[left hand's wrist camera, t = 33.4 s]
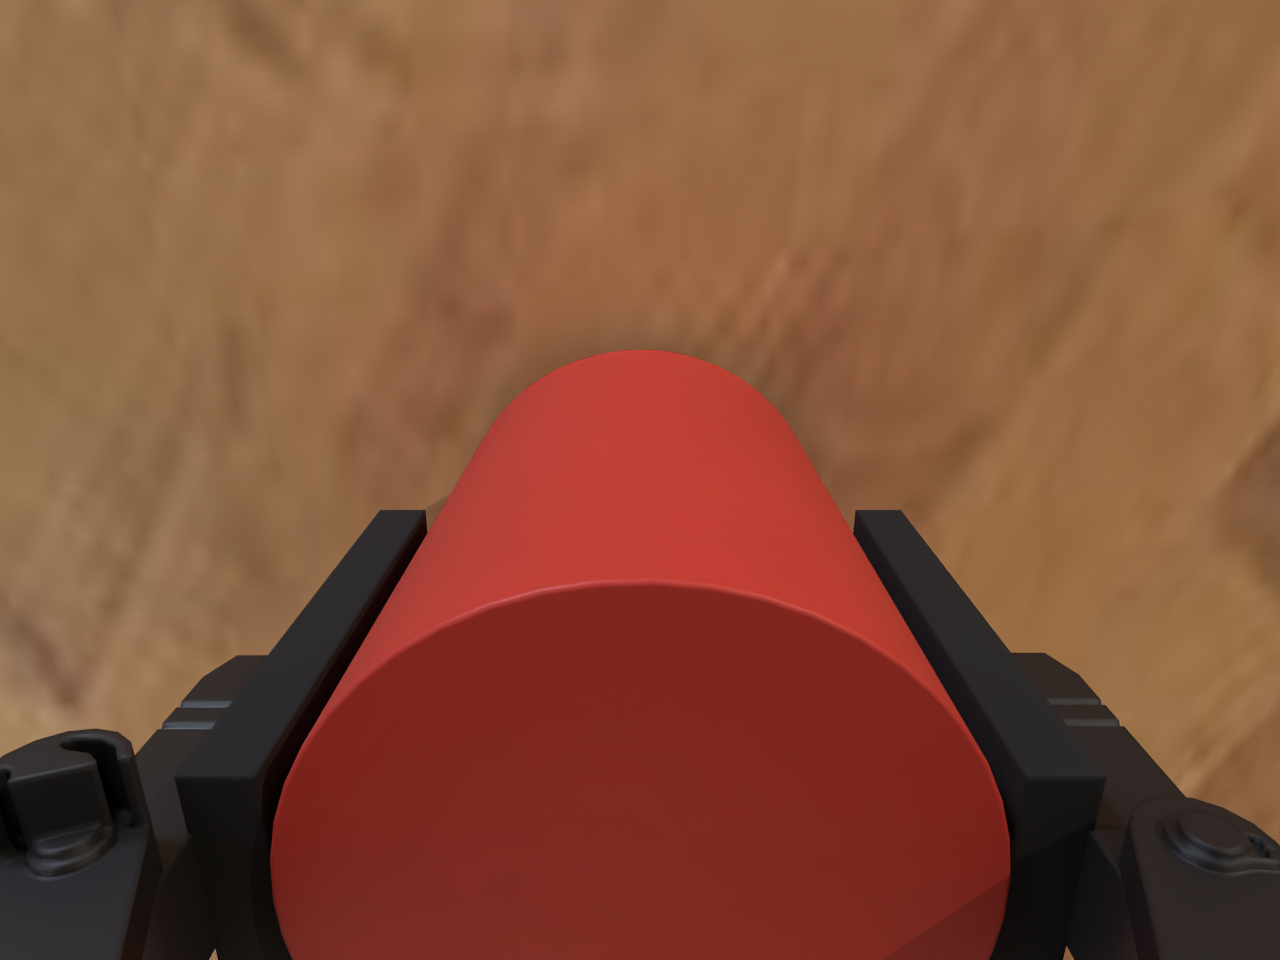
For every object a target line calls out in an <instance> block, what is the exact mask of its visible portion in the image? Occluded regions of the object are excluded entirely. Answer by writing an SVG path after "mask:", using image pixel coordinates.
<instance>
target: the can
mask: <svg viewBox="0 0 1280 960" xmlns="http://www.w3.org/2000/svg"><path fill="white" fill-rule="evenodd" d="M270 868H271V881H272V893H273V902H274V906H275V910H276V914H277V918H278V922H279V926H280V930H281V934H282V937H283V939H284V942H285V944H286V946H287V949H288V951H289V953H290V956H291V958H292V960H989V959H990V957H991V955H992V953H993V950H994V947H995V944H996V941H997V938H998V935H999V932H1000V929H1001V926H1002V923H1003V920H1004V917H1005V911H1006V905H1007V898H1008V892H1009V886H1010V837H1009V832H1008V827H1007V822H1006V816H1005V811H1004V806H1003V801H1002V798H1001V795H1000V793H999V790H998V787H997V785H996V782H995V780H994V777H993V774H992V772H991V769H990V766H989V764H988V762H987V760H986V758H985V757H984V755H983V753H982V751H981V750H980V748H979V746H978V745H977V743H976V741H975V740H974V738H973V736H972V734H971V733H970V731H969V729H968V728H967V726H966V724H965V722H964V721H963V719H962V717H961V716H960V714H959V712H958V711H957V709H956V707H955V706H954V704H953V702H952V700H951V699H950V697H949V695H948V694H947V692H946V690H945V689H944V687H943V685H942V684H941V682H940V680H939V678H938V677H937V675H936V673H935V672H934V670H933V668H932V667H931V665H930V663H929V662H928V660H927V658H926V656H925V655H924V653H923V651H922V650H921V648H920V646H919V645H918V643H917V641H916V639H915V638H914V636H913V634H912V633H911V631H910V629H909V628H908V626H907V624H906V623H905V621H904V619H903V617H902V616H901V614H900V612H899V611H898V609H897V607H896V606H895V604H894V602H893V601H892V599H891V597H890V595H889V594H888V592H887V590H886V589H885V587H884V585H883V584H882V582H881V580H880V579H879V577H878V575H877V573H876V572H875V570H874V568H873V567H872V565H871V563H870V562H869V560H868V558H867V557H866V555H865V553H864V551H863V550H862V548H861V546H860V545H859V543H858V541H857V540H856V538H855V536H854V535H853V533H852V531H851V529H850V528H849V526H848V524H847V523H846V521H845V519H844V518H843V516H842V514H841V512H840V511H839V509H838V507H837V506H836V504H835V502H834V501H833V499H832V497H831V496H830V494H829V492H828V490H827V489H826V487H825V485H824V484H823V482H822V480H821V479H820V477H819V475H818V474H817V472H816V470H815V468H814V467H813V465H812V463H811V462H810V460H809V458H808V457H807V455H806V453H805V452H804V450H803V448H802V446H801V445H800V443H799V441H798V440H797V438H796V436H795V435H794V433H793V431H792V430H791V428H790V426H789V425H788V423H787V422H786V421H785V420H784V418H783V417H782V416H781V415H780V413H779V412H778V411H777V409H776V408H775V407H774V406H773V405H772V404H771V403H770V402H769V401H768V400H767V399H766V398H764V397H763V396H762V395H761V394H760V393H759V392H758V391H757V390H756V389H754V388H753V387H751V386H750V385H749V384H747V383H746V382H744V381H743V380H742V379H740V378H739V377H737V376H735V375H733V374H731V373H730V372H728V371H726V370H724V369H722V368H720V367H718V366H716V365H713V364H711V363H708V362H705V361H703V360H700V359H697V358H694V357H690V356H686V355H681V354H677V353H673V352H665V351H654V350H624V351H616V352H610V353H604V354H598V355H594V356H591V357H588V358H584V359H581V360H578V361H575V362H572V363H570V364H568V365H565V366H563V367H561V368H559V369H557V370H555V371H552V372H551V373H549V374H547V375H546V376H544V377H543V378H541V379H539V380H538V381H536V382H535V383H533V384H531V385H530V386H529V387H528V388H527V389H526V390H524V391H523V392H522V393H521V394H520V395H518V396H517V397H516V398H515V399H514V400H513V401H512V402H511V403H510V404H509V405H508V406H507V407H506V408H505V410H504V411H503V412H502V413H501V414H500V415H499V416H498V417H497V419H496V420H495V422H494V423H493V425H492V426H491V428H490V429H489V431H488V432H487V434H486V435H485V437H484V439H483V440H482V442H481V444H480V445H479V447H478V449H477V450H476V452H475V454H474V455H473V457H472V459H471V461H470V462H469V464H468V466H467V467H466V469H465V471H464V472H463V474H462V476H461V477H460V479H459V481H458V483H457V484H456V486H455V488H454V489H453V491H452V493H451V494H450V496H449V498H448V499H447V501H446V503H445V505H444V506H443V508H442V510H441V511H440V513H439V515H438V516H437V518H436V520H435V521H434V523H433V525H432V527H431V528H430V530H429V532H428V533H427V535H426V537H425V538H424V540H423V542H422V543H421V545H420V547H419V548H418V550H417V552H416V554H415V555H414V557H413V559H412V560H411V562H410V564H409V565H408V567H407V569H406V570H405V572H404V574H403V576H402V577H401V579H400V581H399V582H398V584H397V586H396V587H395V589H394V591H393V592H392V594H391V596H390V598H389V599H388V601H387V603H386V604H385V606H384V608H383V609H382V611H381V613H380V614H379V616H378V618H377V620H376V621H375V623H374V625H373V626H372V628H371V630H370V631H369V633H368V635H367V636H366V638H365V640H364V641H363V643H362V645H361V647H360V648H359V650H358V652H357V653H356V655H355V657H354V658H353V660H352V662H351V663H350V665H349V667H348V669H347V670H346V672H345V674H344V675H343V677H342V679H341V680H340V682H339V684H338V685H337V687H336V689H335V691H334V692H333V694H332V696H331V697H330V699H329V701H328V702H327V704H326V706H325V707H324V709H323V711H322V713H321V714H320V716H319V718H318V719H317V721H316V723H315V724H314V726H313V728H312V729H311V731H310V733H309V735H308V736H307V738H306V740H305V741H304V743H303V745H302V746H301V749H300V751H299V753H298V755H297V757H296V759H295V761H294V763H293V766H292V768H291V770H290V772H289V774H288V776H287V778H286V780H285V783H284V786H283V789H282V793H281V797H280V800H279V804H278V808H277V811H276V815H275V818H274V824H273V834H272V845H271V855H270Z"/></svg>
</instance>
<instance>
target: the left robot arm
mask: <svg viewBox="0 0 1280 960" xmlns="http://www.w3.org/2000/svg"><path fill="white" fill-rule="evenodd" d="M426 535H427V524H426V513H425V510H380V511H379V512H378V514H377V515H376V516H375V518H374V519H373V520H372V521H371V523H370V524H369V525H368V527H367V528H366V529H365V531H364V532H363V533H362V534H361V536H360V537H359V538H358V540H357V541H356V542H355V543H354V545H353V546H352V547H351V549H350V550H349V551H348V553H347V554H346V555H345V556H344V558H343V559H342V560H341V562H340V563H339V564H338V565H337V567H336V568H335V569H334V571H333V572H332V573H331V575H330V576H329V577H328V578H327V580H326V581H325V582H324V584H323V585H322V586H321V587H320V589H319V590H318V591H317V593H316V594H315V595H314V597H313V598H312V599H311V600H310V602H309V603H308V604H307V606H306V607H305V608H304V609H303V611H302V612H301V613H300V615H299V616H298V617H297V619H296V620H295V621H294V622H293V624H292V625H291V626H290V628H289V629H288V630H287V631H286V633H285V634H284V635H283V637H282V638H281V639H280V641H279V642H278V643H277V644H276V646H275V647H274V648H273V650H272V651H271V652H270V653H269V655H237V656H235V657H234V658H232V659H231V660H229V661H228V662H226V663H224V664H223V665H221V666H220V667H218V668H217V669H215V670H213V671H212V672H210V673H209V674H207V675H206V676H204V677H203V678H202V679H201V680H200V681H199V682H198V684H197V685H196V686H195V687H194V688H193V689H192V690H191V692H190V693H189V694H188V695H187V696H186V697H185V698H184V700H183V701H182V702H181V707H180V708H176V709H175V710H174V711H173V712H172V713H171V715H170V716H169V717H168V718H167V719H166V720H165V722H164V723H163V724H162V725H163V726H162V729H158V730H157V731H156V732H155V733H154V734H153V735H152V736H151V738H150V739H149V740H148V741H147V742H146V743H145V745H144V746H143V747H142V748H141V749H140V750H139V751H138V753H137V754H136V755H134V751H133V748H132V744H131V742H130V741H129V740H128V739H127V738H125V737H124V736H123V735H121V734H120V733H119V732H114V731H108V730H102V729H87V730H77V731H67V732H64V733H60V734H57V735H53V736H50V737H46V738H43V739H39V740H36V741H33V742H31V743H29V744H27V745H25V746H23V747H20V748H18V749H16V750H14V751H12V752H10V753H8V754H5V755H4V756H2V757H1V758H0V960H209V958H210V957H211V955H212V953H213V951H214V949H216V953H217V957H218V960H292V958H291V956H290V953H289V951H288V949H287V946H286V944H285V942H284V939H283V937H282V934H281V930H280V926H279V922H278V918H277V914H276V910H275V906H274V902H273V893H272V881H271V868H270V855H271V845H272V834H273V824H274V818H275V815H276V811H277V808H278V804H279V800H280V797H281V793H282V789H283V786H284V783H285V780H286V778H287V776H288V774H289V772H290V770H291V768H292V766H293V763H294V761H295V759H296V757H297V755H298V753H299V751H300V749H301V746H302V745H303V743H304V741H305V740H306V738H307V736H308V735H309V733H310V731H311V729H312V728H313V726H314V724H315V723H316V721H317V719H318V718H319V716H320V714H321V713H322V711H323V709H324V707H325V706H326V704H327V702H328V701H329V699H330V697H331V696H332V694H333V692H334V691H335V689H336V687H337V685H338V684H339V682H340V680H341V679H342V677H343V675H344V674H345V672H346V670H347V669H348V667H349V665H350V663H351V662H352V660H353V658H354V657H355V655H356V653H357V652H358V650H359V648H360V647H361V645H362V643H363V641H364V640H365V638H366V636H367V635H368V633H369V631H370V630H371V628H372V626H373V625H374V623H375V621H376V620H377V618H378V616H379V614H380V613H381V611H382V609H383V608H384V606H385V604H386V603H387V601H388V599H389V598H390V596H391V594H392V592H393V591H394V589H395V587H396V586H397V584H398V582H399V581H400V579H401V577H402V576H403V574H404V572H405V570H406V569H407V567H408V565H409V564H410V562H411V560H412V559H413V557H414V555H415V554H416V552H417V550H418V548H419V547H420V545H421V543H422V542H423V540H424V538H425V537H426ZM853 535H854V536H855V538H856V540H857V541H858V543H859V545H860V546H861V548H862V550H863V551H864V553H865V555H866V557H867V558H868V560H869V562H870V563H871V565H872V567H873V568H874V570H875V572H876V573H877V575H878V577H879V579H880V580H881V582H882V584H883V585H884V587H885V589H886V590H887V592H888V594H889V595H890V597H891V599H892V601H893V602H894V604H895V606H896V607H897V609H898V611H899V612H900V614H901V616H902V617H903V619H904V621H905V623H906V624H907V626H908V628H909V629H910V631H911V633H912V634H913V636H914V638H915V639H916V641H917V643H918V645H919V646H920V648H921V650H922V651H923V653H924V655H925V656H926V658H927V660H928V662H929V663H930V665H931V667H932V668H933V670H934V672H935V673H936V675H937V677H938V678H939V680H940V682H941V684H942V685H943V687H944V689H945V690H946V692H947V694H948V695H949V697H950V699H951V700H952V702H953V704H954V706H955V707H956V709H957V711H958V712H959V714H960V716H961V717H962V719H963V721H964V722H965V724H966V726H967V728H968V729H969V731H970V733H971V734H972V736H973V738H974V740H975V741H976V743H977V745H978V746H979V748H980V750H981V751H982V753H983V755H984V757H985V758H986V760H987V762H988V764H989V766H990V769H991V772H992V774H993V777H994V780H995V782H996V785H997V787H998V790H999V793H1000V795H1001V798H1002V801H1003V806H1004V811H1005V816H1006V822H1007V827H1008V832H1009V837H1010V886H1009V892H1008V898H1007V905H1006V911H1005V917H1004V920H1003V923H1002V926H1001V929H1000V932H999V935H998V938H997V941H996V944H995V947H994V950H993V953H992V955H991V957H990V959H989V960H1063V957H1064V953H1065V949H1066V945H1067V947H1068V949H1069V951H1070V953H1071V954H1072V956H1073V958H1074V960H1280V846H1279V844H1278V843H1277V842H1276V841H1274V840H1273V839H1272V838H1271V837H1269V836H1268V835H1267V834H1266V833H1264V832H1263V831H1262V830H1261V829H1259V828H1258V827H1257V826H1256V825H1254V824H1253V823H1251V822H1249V821H1247V820H1245V819H1244V818H1242V817H1240V816H1238V815H1236V814H1234V813H1232V812H1230V811H1228V810H1227V809H1225V808H1222V807H1219V806H1216V805H1213V804H1210V803H1207V802H1203V801H1200V800H1197V799H1194V798H1187V797H1185V796H1184V794H1183V793H1182V792H1181V791H1180V790H1179V789H1178V788H1177V786H1176V785H1175V784H1174V783H1173V782H1172V781H1171V780H1170V778H1169V777H1168V776H1167V775H1166V774H1165V773H1164V772H1163V770H1162V769H1161V768H1160V767H1159V766H1158V765H1157V764H1156V762H1155V761H1154V760H1153V759H1152V758H1151V757H1150V756H1149V754H1148V753H1147V752H1146V751H1145V750H1144V749H1143V748H1142V746H1141V745H1140V744H1139V743H1138V742H1137V741H1136V740H1135V738H1134V737H1133V736H1132V735H1131V734H1130V733H1129V732H1128V730H1127V729H1126V728H1125V727H1120V725H1119V720H1118V719H1117V718H1116V717H1115V716H1114V714H1113V713H1112V712H1111V711H1110V710H1109V709H1108V708H1107V706H1106V705H1101V700H1100V698H1099V697H1098V696H1097V695H1096V694H1095V693H1094V692H1093V690H1092V689H1091V688H1090V687H1089V686H1088V685H1087V684H1086V682H1085V681H1084V680H1083V679H1082V678H1081V677H1080V676H1079V675H1078V674H1077V673H1075V672H1074V671H1072V670H1071V669H1069V668H1067V667H1066V666H1064V665H1063V664H1061V663H1060V662H1058V661H1056V660H1055V659H1053V658H1052V657H1050V656H1048V655H1047V654H1045V653H1011V652H1010V651H1009V650H1008V648H1007V647H1006V646H1005V644H1004V643H1003V642H1002V641H1001V639H1000V638H999V637H998V635H997V634H996V633H995V632H994V630H993V629H992V628H991V626H990V625H989V624H988V622H987V621H986V620H985V619H984V617H983V616H982V615H981V613H980V612H979V611H978V610H977V608H976V607H975V606H974V604H973V603H972V602H971V601H970V599H969V598H968V597H967V595H966V594H965V593H964V591H963V590H962V589H961V588H960V586H959V585H958V584H957V582H956V581H955V580H954V579H953V577H952V576H951V575H950V573H949V572H948V571H947V569H946V568H945V567H944V566H943V564H942V563H941V562H940V560H939V559H938V558H937V557H936V555H935V554H934V553H933V551H932V550H931V549H930V547H929V546H928V545H927V544H926V542H925V541H924V540H923V538H922V537H921V536H920V535H919V533H918V532H917V531H916V529H915V528H914V527H913V525H912V524H911V523H910V522H909V520H908V519H907V518H906V516H905V515H904V514H903V513H902V511H901V510H856V512H855V522H854V533H853Z"/></svg>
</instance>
